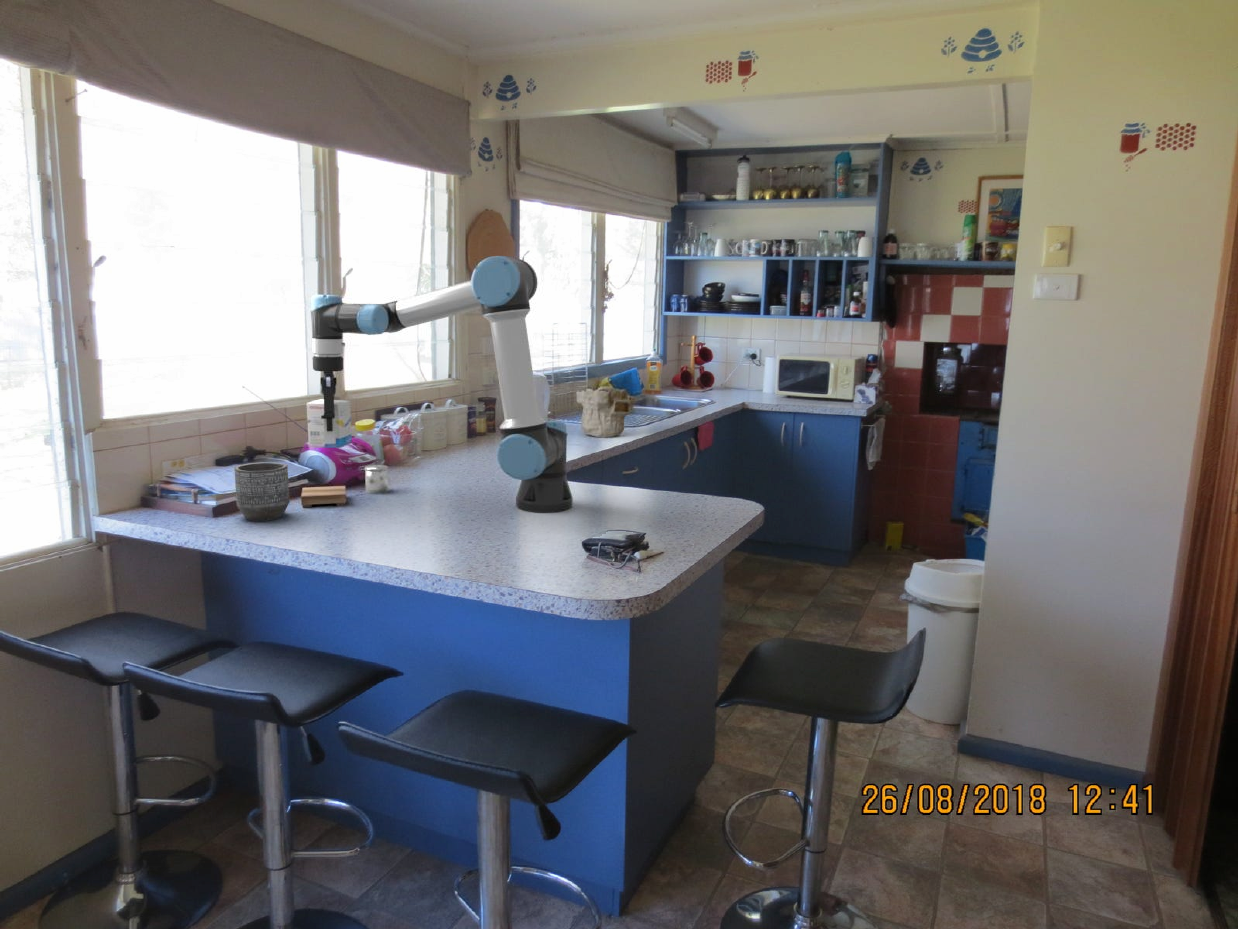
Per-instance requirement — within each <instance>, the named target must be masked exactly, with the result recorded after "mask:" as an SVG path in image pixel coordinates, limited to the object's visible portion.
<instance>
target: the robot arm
mask: <svg viewBox="0 0 1238 929" xmlns="http://www.w3.org/2000/svg"><path fill="white" fill-rule="evenodd" d="M537 290H538V275H537V274H536V272H535V269H534V268H533V266H532V265H530V264H529V263H528V262H527V261H525V260H523V259H520V258H515V257H508V256H505V255H495V256H489V257H486V258H484V259H482V260H481V261H479V263H477V265H476V266H475V268H473V272H472V274H471V278H470V280H467V281H462V282H460V283H456V284H452V285H450V286H445V287H442V288H438V289H434V290H431V291H428V292H423V293H420V294H416V295H413V296H409V297H404V298H401V299H398V300H394V301H391V302H390V301H389V302H386V303H346V302H343V300H342V297H341V295H337V294H314V295H312V297H311V301H310V302H311V303H310V318H311V320H310V321H311V334H312V335H311V353H312V354H313V356H312V369H313V371H315V372H323V375H322V376H321V377H320V386H321V395H323V399H324V415H321V419H324V441H325V444H336V437H335V413H334V400H335V395H336V394H337V384H338V382H337V377H335V374H334V372H342V371H344V357H343V356H341V355H343V353H344V352H343V351H344V349H343V347H345V346H346V343H345V342H343V337H344V336H343V335H344V334H359V335H368V336H371V335H372V336H373V335H374V336H375V335H383V333H384V334H385V333H389V334H392V333H397V332H400V331H402V330H403V329H407V328H410V327H414V326H418V325H421V324H426V323H430V322H433V321H437V320H441V319H445V318H448V317H453V316H456V315H461V314H464V313H468V312H471V311H472V312H473V311H477V310H481V313H482V318H484V319H486V320H487V321H488V322H489V324H490V330H491V337H492V345H493V350H494V357H495V358H494V359H495V365H496V371H497V377H498V378H497V379H498V385H499V392H500V398H501V399H500V400H501V404H502V405H501V406H502V412H503V418H504V419H503V422H502V423H500V426H499V435H500V440H501V441H500V443H499V445H498V447H497V450H496V451H497V452H496V458H497V459H496V460H497V463H498V464H499V467H500V468H501V470H502V471H503V472H504V473H505V474H506V475H507V476H509V477H510V478H512V479H515V480H519V481H520V480H521V481H520V484H519V487H518V491H517V494H516V497H515V507H516V508H517V509H519V510H523V511H525V512H532V513H533V512H535V513H552V512H553V513H555V512H561V510H562V511H566V510H569V509H571V508H572V507H573V506H572V505H574V504H573V503H574V502H573V499H574V498H573V495H572V492H571V489H570V484H569V482H568V479H567V439H568V438H567V437H568V432H567V431H568V430H567V425H566V423H565V422H563V421H552V420H546V419H544V418H543V417H542V416H541V415H540V412H539V407H538V399H537V392H536V386H535V385H536V384H535V379H534V378H535V377H534V371H533V364H532V363H533V362H532V357H531V351H530V344H529V336H528V329H527V323H526V318H527V315H528V314H529V313H530V311H531V306H530V300H531V299H532V298H533V297H534V296H535V294H536V292H537ZM570 507H571V508H570ZM568 508H569V509H568Z"/></svg>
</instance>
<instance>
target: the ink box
mask: <svg viewBox="0 0 1238 929" xmlns="http://www.w3.org/2000/svg"><path fill="white" fill-rule="evenodd" d="M351 409H352V408H351V400H345V399H344V400H342V399H334V413H335V437H336V444H325V441H324V419H321V415H324V398H321V399H317V400H311V401H309V402H306V416H307V435H308V436H307V437H308V439H307V440H308V447H309V448H310V447H311V448H331V449H332V448H334V449H335V448H337V449H339V448H344V447H345V446H348V445H350V444H352V412H351V411H352V410H351Z"/></svg>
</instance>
